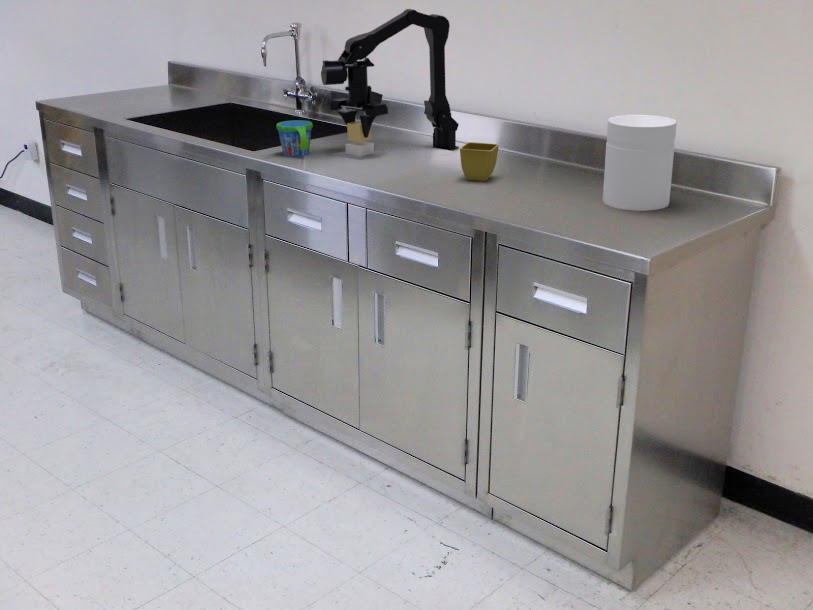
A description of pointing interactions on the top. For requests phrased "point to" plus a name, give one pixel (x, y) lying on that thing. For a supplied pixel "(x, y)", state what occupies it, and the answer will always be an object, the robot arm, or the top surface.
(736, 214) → the top surface
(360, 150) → the white brick
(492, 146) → the flower pot
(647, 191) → the canister
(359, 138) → the ochre brick
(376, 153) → the baseplate
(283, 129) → the snack cup
